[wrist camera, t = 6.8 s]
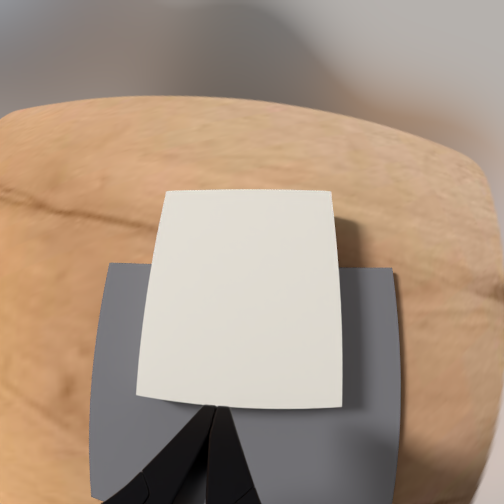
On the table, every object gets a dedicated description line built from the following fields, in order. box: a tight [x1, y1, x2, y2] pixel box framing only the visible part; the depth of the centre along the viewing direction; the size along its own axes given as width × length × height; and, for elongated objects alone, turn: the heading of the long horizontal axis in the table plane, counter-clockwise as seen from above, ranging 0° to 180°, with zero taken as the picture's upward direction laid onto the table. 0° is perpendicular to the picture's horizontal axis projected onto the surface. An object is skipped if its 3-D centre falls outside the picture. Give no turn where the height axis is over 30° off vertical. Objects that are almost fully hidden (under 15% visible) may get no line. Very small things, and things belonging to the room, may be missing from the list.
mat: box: [89, 263, 401, 504], centre depth 15 cm, size 16×18×1 cm
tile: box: [136, 189, 342, 409], centre depth 16 cm, size 2×10×12 cm
